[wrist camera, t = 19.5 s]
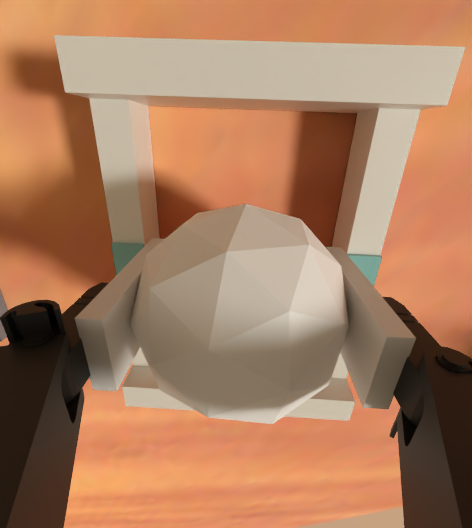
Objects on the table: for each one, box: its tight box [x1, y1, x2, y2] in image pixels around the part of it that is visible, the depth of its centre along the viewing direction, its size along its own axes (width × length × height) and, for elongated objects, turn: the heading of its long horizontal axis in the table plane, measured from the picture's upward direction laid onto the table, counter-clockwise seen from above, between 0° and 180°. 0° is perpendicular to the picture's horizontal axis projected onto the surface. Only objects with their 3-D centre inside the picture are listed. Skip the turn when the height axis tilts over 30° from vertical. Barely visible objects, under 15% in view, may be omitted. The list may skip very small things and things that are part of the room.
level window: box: [54, 35, 465, 421], centre depth 14 cm, size 18×13×4 cm
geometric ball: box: [130, 204, 349, 424], centre depth 11 cm, size 8×8×8 cm
